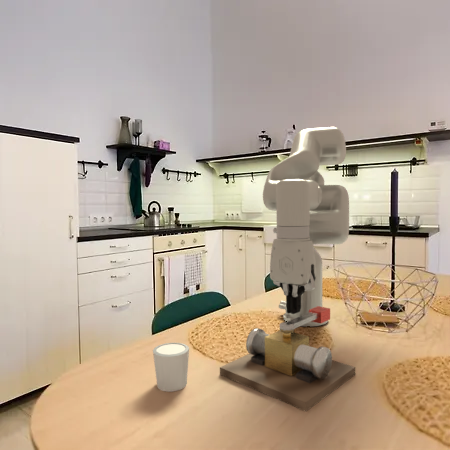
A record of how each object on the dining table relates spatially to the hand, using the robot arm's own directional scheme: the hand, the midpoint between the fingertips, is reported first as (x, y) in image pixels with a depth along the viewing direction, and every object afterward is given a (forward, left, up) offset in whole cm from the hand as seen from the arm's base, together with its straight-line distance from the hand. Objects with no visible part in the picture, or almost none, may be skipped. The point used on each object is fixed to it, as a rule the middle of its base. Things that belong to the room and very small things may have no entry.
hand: (293, 312), depth 89 cm
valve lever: (+6, -5, -1) cm, 8 cm away
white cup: (-8, -30, -9) cm, 32 cm away
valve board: (+6, -12, -9) cm, 16 cm away
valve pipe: (+6, -12, -7) cm, 15 cm away
